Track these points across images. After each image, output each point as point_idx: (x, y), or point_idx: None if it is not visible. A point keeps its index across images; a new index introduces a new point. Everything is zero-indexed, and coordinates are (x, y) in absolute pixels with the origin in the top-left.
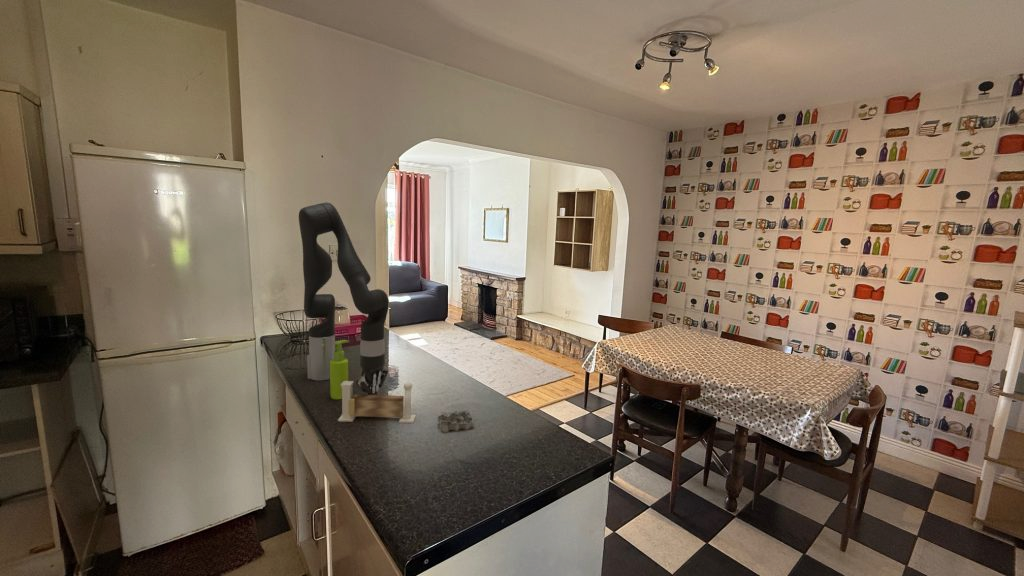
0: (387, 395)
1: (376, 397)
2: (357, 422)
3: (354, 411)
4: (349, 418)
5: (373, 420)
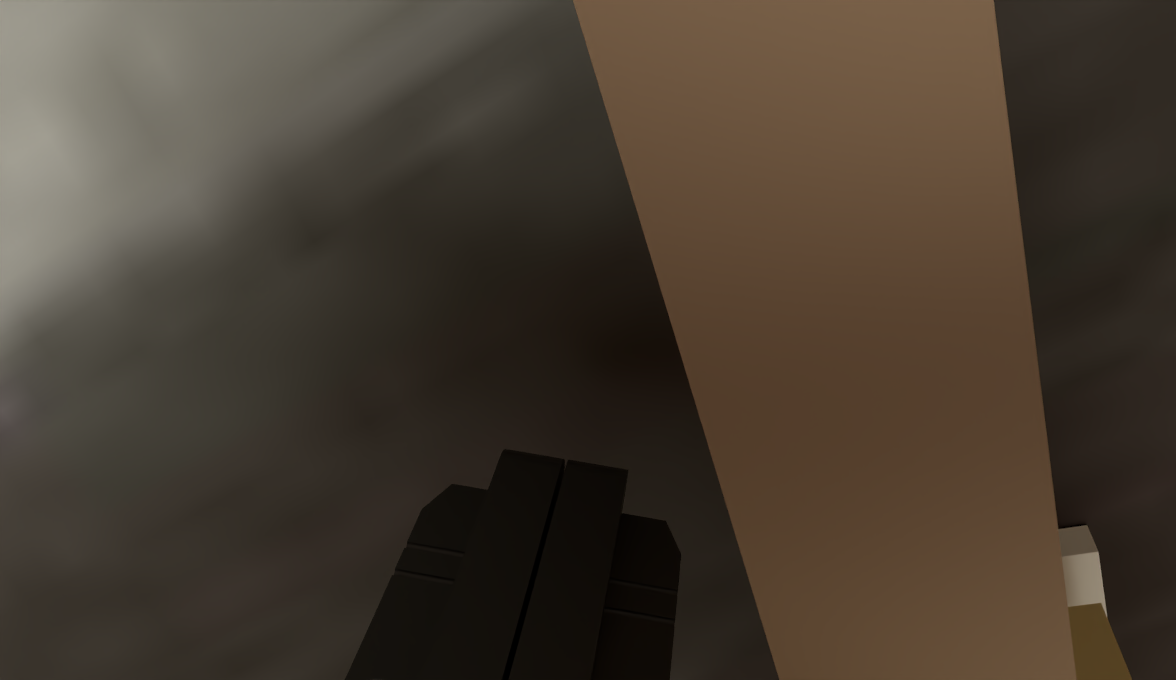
0: (615, 101)
1: (1027, 482)
2: (1100, 428)
3: (1080, 664)
4: None
5: None
